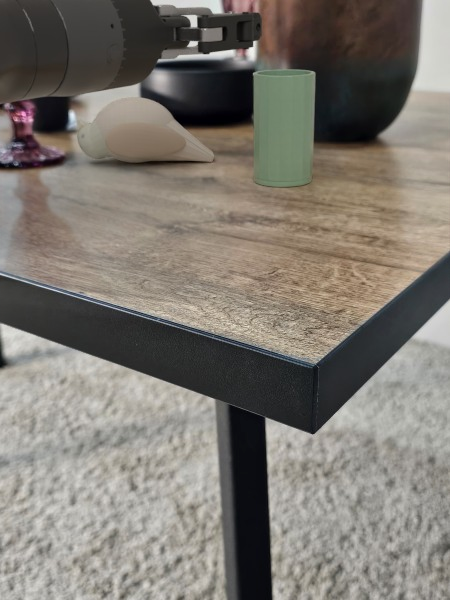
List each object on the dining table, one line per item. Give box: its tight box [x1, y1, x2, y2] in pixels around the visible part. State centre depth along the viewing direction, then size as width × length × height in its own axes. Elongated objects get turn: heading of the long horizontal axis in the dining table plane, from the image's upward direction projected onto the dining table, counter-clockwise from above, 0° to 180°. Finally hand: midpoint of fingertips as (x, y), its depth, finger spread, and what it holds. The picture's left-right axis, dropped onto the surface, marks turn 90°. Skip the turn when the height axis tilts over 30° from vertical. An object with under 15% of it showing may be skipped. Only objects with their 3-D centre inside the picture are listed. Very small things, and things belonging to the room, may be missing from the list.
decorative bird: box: [75, 96, 215, 164], centre depth 87 cm, size 9×16×8 cm, turn 97°
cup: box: [252, 68, 316, 188], centre depth 77 cm, size 6×6×11 cm
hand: (216, 25), depth 65 cm, fingers open, 8 cm apart
